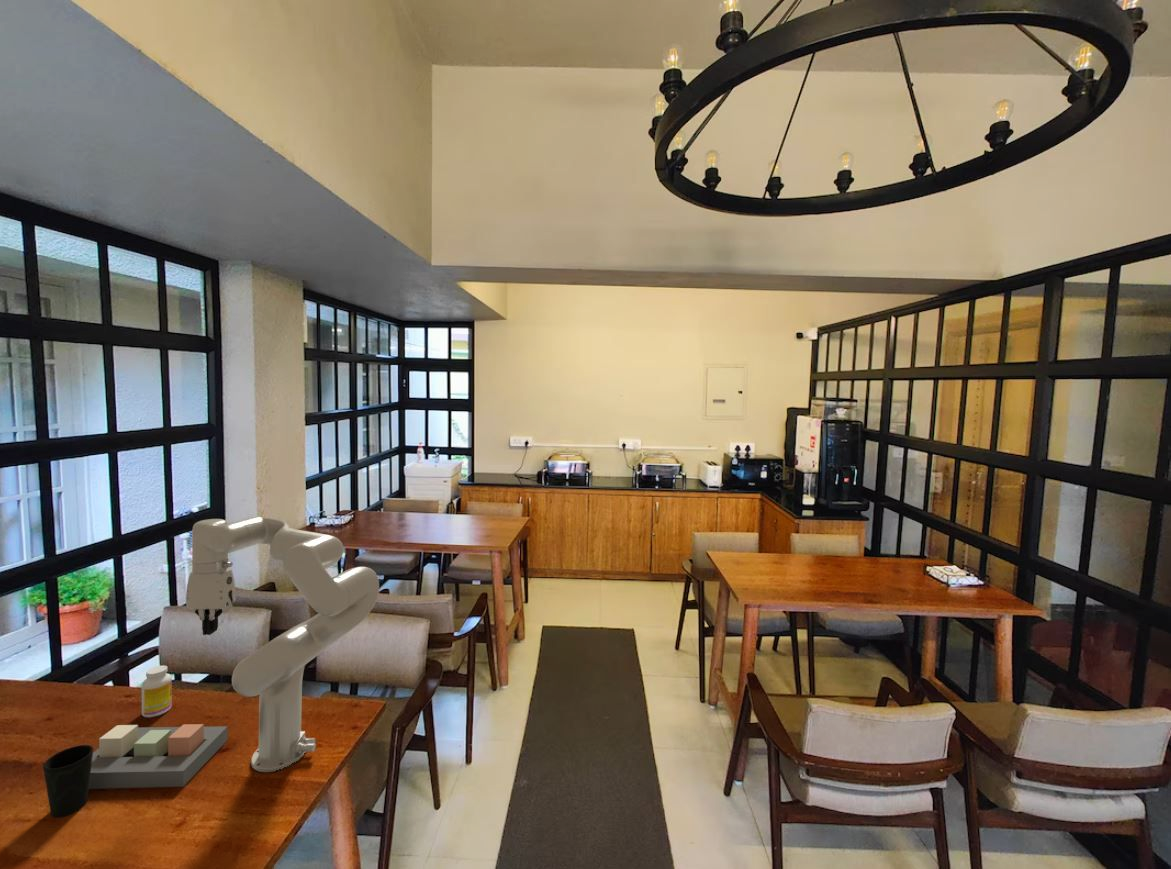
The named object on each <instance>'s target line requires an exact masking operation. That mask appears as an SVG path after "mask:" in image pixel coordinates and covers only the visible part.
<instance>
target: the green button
mask: <svg viewBox="0 0 1171 869" xmlns="http://www.w3.org/2000/svg"><path fill="white" fill-rule="evenodd" d="M170 736H171V730H150V731H149V732H148V733H146V734H145V735H144V736H143V737H141V738H140V739H139V740H138V741H137V742H135V743H134V755H133V757H155V756H164V755H166V754H165V753H166V752H167V751H168V738H169V737H170Z"/></svg>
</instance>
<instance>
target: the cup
mask: <svg viewBox="0 0 1171 869" xmlns="http://www.w3.org/2000/svg"><path fill="white" fill-rule="evenodd" d="M93 752H94V747H93V746H92V745H88V744H80V745H75V746H71V747H68V748H66V749H63V750H61V751H59V752H57V753H55V754H53V755H52V756H50V757H49V758H48V759H46V761H45V762H44V763H43V766H42V768H43V775H44V780H45V786H46V787H45V788H46V792H47V797H48V798H47V799H48V805H49V810H50V815H51V817H52V818H57V819H59V818H63V817H67V816H70V815H72V814H74V813H76V812H78V811H79V810H81V809H82V808H83V807H84V806H86V804H87V802H88V794H89V790H90V789H89V781H90V773H91V764H92V756H93Z"/></svg>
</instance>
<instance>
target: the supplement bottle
mask: <svg viewBox="0 0 1171 869" xmlns="http://www.w3.org/2000/svg"><path fill="white" fill-rule="evenodd" d="M167 672H168V666H167V665H156V666H153V667H151V668H149V669H148V670H146V672H145V677H146V678H145V679H144V680H143V682H142V683H141V715H142V716H143V718H155V717H158V716H161V715H163V714H165V713H166V712H168V711H170V709H171V708H172V702H173V700H172V698H173V697H172V692H173V691H172V690H173V689H172V685H173V684H172V681H173V680H172V675H171V674H169V673H167Z"/></svg>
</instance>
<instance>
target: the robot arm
mask: <svg viewBox="0 0 1171 869" xmlns="http://www.w3.org/2000/svg"><path fill="white" fill-rule="evenodd" d="M191 534H192V536H191V537H192V539H191V540H192V545H191V546H192V547H191V549H192V560H191V561H192V563H191V564H192V565H191V566H192V567H191V568H192V571H190V573H189V575H188V579H187V584H186V592H185V593H186V594H185V605H186V607H187V612H189V613H192V614H193V613H194V614H196V615H197V616H198V619H199V620H200V621H201V625H202V626H201V630H202V635H203V636H211V635H212V634H214V633H215V632H216V631H217V630H218V628H219V617H220V616H221V615H222V614H226V613H229V612H231V611H233V609H234V608H233V603H235V602H236V597H237V596H236V595H237V594H236V584H235V582H236V581H235V576H234V574H233V570H232V567H233V562H232V561H230V560H229V554H231V553H234V552H237V551H239V550H240V551H241V550H243V549H247V548H249V547H252V546H256V545H258V544H259V545H260V544H261V545H262V544H263V545H269V554H270V556H271V558H272V559H273V560H275V561H276V562H280V563H282V566H283V569H284V571H285V573H286V575H287V577H288V578H289V580H290V581H291V582H292V583H293V585H294V586H295V588H296V589H297V590H298V591H299V592H300V594H301V595H302V596H303V598H304V599H305V600H306V602H307V603H308V604H309V605H310V607H311V608H312V609H313V610H314V612H316V613H317V614H315V615H313V616H312V617H311V618H309V619H307V620H305V621H303V622H301V623H298V624H297V625H295V626H293V627H291V628H290V629H288V630H286V631H284V632H283V633H281V634H280V635H278V636H276V637H274V638H273V639H272V640H270V641H269V642H267V643H266V644H264V645H263V646H261V647H260V648H258V649H257V650H255V651H254V652H252V653H251V654H249V655H248V656H246V657H244V658H243V659H241V661H240V662H239V663H237V665H236V666H235V668H234V669H233V671H232V675H231V685H232V688H233V689H234V691H235V692H236V693H237V694H239V695H241V696H244V697H257V696H259V697H258V698H259V701H258V748H257V749H256V750H255V751H254V753H253V754H252V755H251V760H250V762H251V763H250V765H251V767H252V769H254V770H255V771H257V772H260V773H273V772H277V771H276V770H278V771H280V770H279V769H281V770H283V768H284V767H286V768H288V767H290V766H292V765H293V764H292V763H294V762H295V763H297V762H298V761H299V760H300V759H302V757H304V755H305V754H306V753H308V752H309V753H310V752H311V753H312V752H314V751H315V749H316V747H317V744H316V738H315V737H307V736H306V731H305V730H302V710H303V709H302V702H303V700H302V697H303V696H302V694H303V678H304V677H303V676H304V670H305V667H306V665H307V664H308V663H309V662H311V661H312V660H314V659H315V658H316V657H317V656H319V655H320V654H321V653H322V652H324V650H326V649H327V648H328V647H329V646H331V645H332V644H334V643H336V642H337V641H338V640H340V639H341V638H343V637H344V636H345V635H346V634H348V633H349V632H351V631H352V630H354V629H355V628H356V627H357V626H358V625H360V623H362V622H363V621H364V619H365V618H366V617H368V615H369V614H370V613H371V611H372V609H373V608H374V606H375V604H376V603H377V600H378V596H379V594H380V592H379V591H380V581H379V577H378V575H377V573H376V571H375V570H374V569H372V568H370V567H367V566H355V567H352V568H348V569H347V570H345V571H343V572H340V573H338V574H336V575H335V576H333V577H332V576H331V575H330V574H329V573H328V571H327V569H329V568H331V567H332V566H334V565H336V564H337V563H338V562H339V561H340V560H341V558H342V556H343V554H344V551H345V550H344V545H343V543H342V541H341V540H340V539H339V538H338V537H336V536H334V535H330V534H327V533H326V534H324V533H320V532H314V531H308V530H302V529H297V528H292V527H291V526H290V525H289V524H288V523H286V522H285V521H283V520H282V519H281V520H280V519H275V518H270V517H262V516H255V517H254V516H253V517H250V518H249V517H248V518H244V519H240V520H238V521H232V522H228V521H227V520H225V519H222V518H210V519H203V520H199V521H197V522H195V523H194V524H193V526H192V533H191ZM304 753H305V754H304ZM296 761H297V762H296ZM295 763H294V764H295ZM291 764H292V765H291ZM289 765H290V766H289ZM287 766H288V767H287ZM284 769H285V768H284Z"/></svg>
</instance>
